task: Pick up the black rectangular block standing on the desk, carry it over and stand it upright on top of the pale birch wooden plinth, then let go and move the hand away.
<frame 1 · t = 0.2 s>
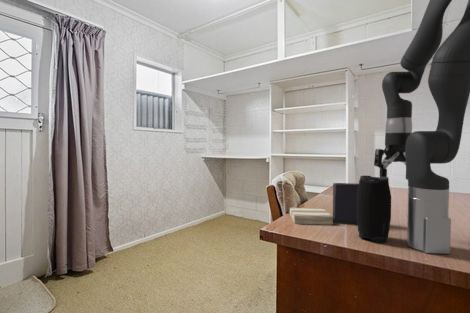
hand: (396, 179, 84), 18 cm above the table, tool pointing down, fingers open, 8 cm apart
portable speaker: (372, 239, 78), on the table
black rectangular block: (348, 222, 96), on the table
birch plinth: (309, 219, 100), on the table
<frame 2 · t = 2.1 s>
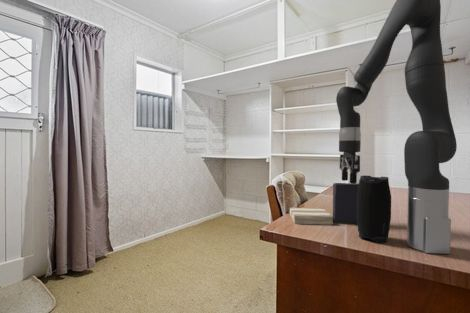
hand: (348, 181, 95), 16 cm above the table, tool pointing down, fingers open, 8 cm apart
nothing on the table moved.
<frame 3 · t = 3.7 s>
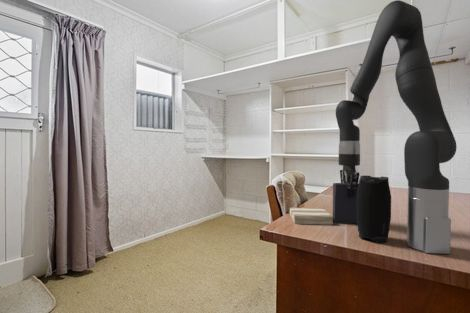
hand: (348, 197, 95), 10 cm above the table, tool pointing down, fingers closed on black rectangular block, 4 cm apart
black rectangular block: (348, 222, 96), on the table, touching gripper
everything else where it was.
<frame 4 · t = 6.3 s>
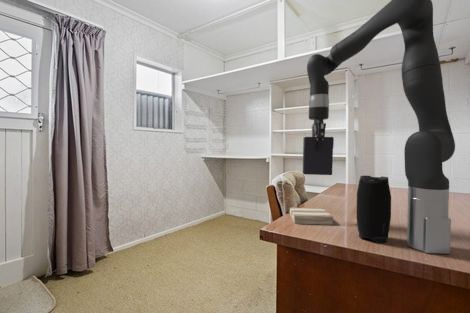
hand: (317, 150, 99), 28 cm above the table, tool pointing down, fingers closed on black rectangular block, 4 cm apart
black rectangular block: (317, 174, 99), point 18 cm above the table, touching gripper
everything else where it was.
when the fingers open (13 cm above the table, at t = 9.1 s): black rectangular block stays where it is, resting on birch plinth.
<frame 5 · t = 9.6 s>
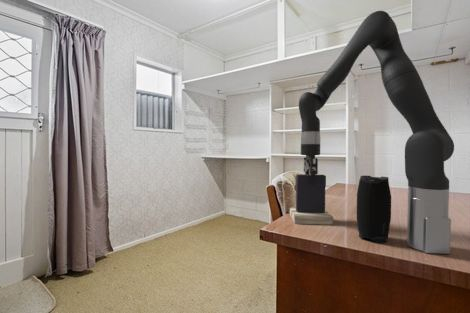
hand: (310, 183, 99), 14 cm above the table, tool pointing down, fingers open, 8 cm apart
black rectangular block: (310, 212, 99), point 3 cm above the table, touching birch plinth
everything else where it was.
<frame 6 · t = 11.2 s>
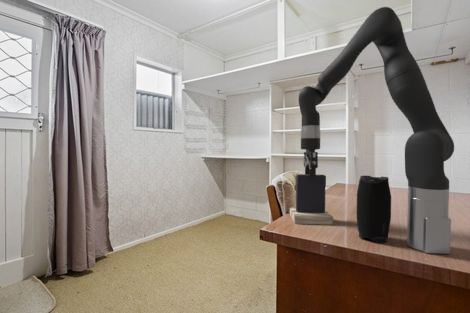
hand: (310, 177, 99), 17 cm above the table, tool pointing down, fingers open, 8 cm apart
nothing on the table moved.
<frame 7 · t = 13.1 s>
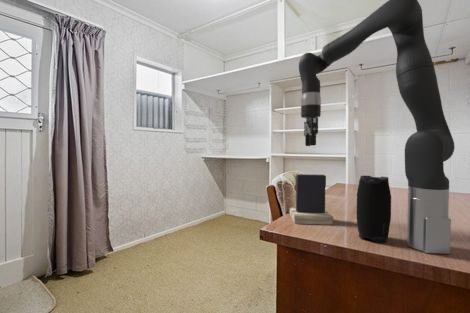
hand: (310, 145, 99), 30 cm above the table, tool pointing down, fingers open, 8 cm apart
nothing on the table moved.
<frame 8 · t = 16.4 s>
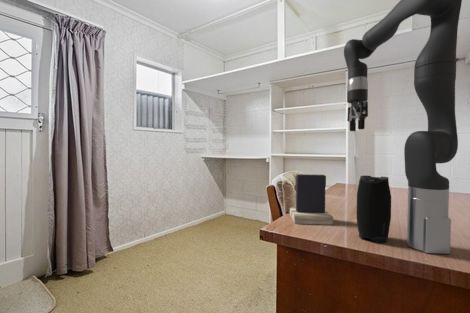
hand: (356, 130, 100), 36 cm above the table, tool pointing down, fingers open, 8 cm apart
nothing on the table moved.
at the end: black rectangular block inside the target area on the birch plinth (0.2 cm from its centre), point 2.8 cm above the birch plinth's base; black rectangular block tilted 0°; the gripper is holding nothing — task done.
